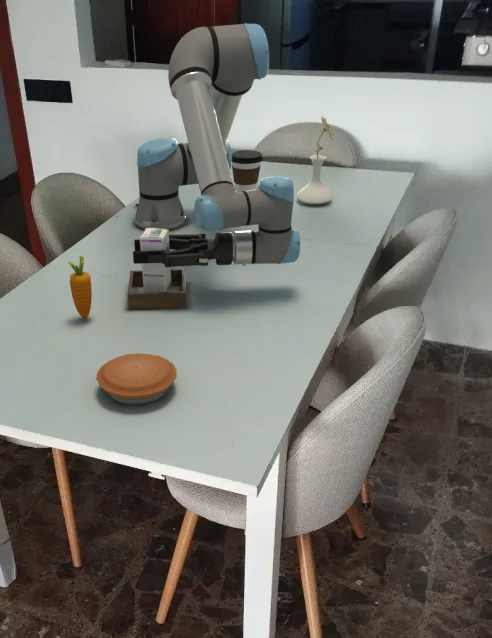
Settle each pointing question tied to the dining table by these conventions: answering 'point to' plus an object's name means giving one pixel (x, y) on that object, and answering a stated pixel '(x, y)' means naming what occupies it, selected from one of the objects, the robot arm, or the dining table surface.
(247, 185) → the coffee cup
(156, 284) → the syrup box
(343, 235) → the dining table surface
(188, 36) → the robot arm
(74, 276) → the carrot
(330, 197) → the flower in vase
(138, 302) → the wooden frame
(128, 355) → the pie
